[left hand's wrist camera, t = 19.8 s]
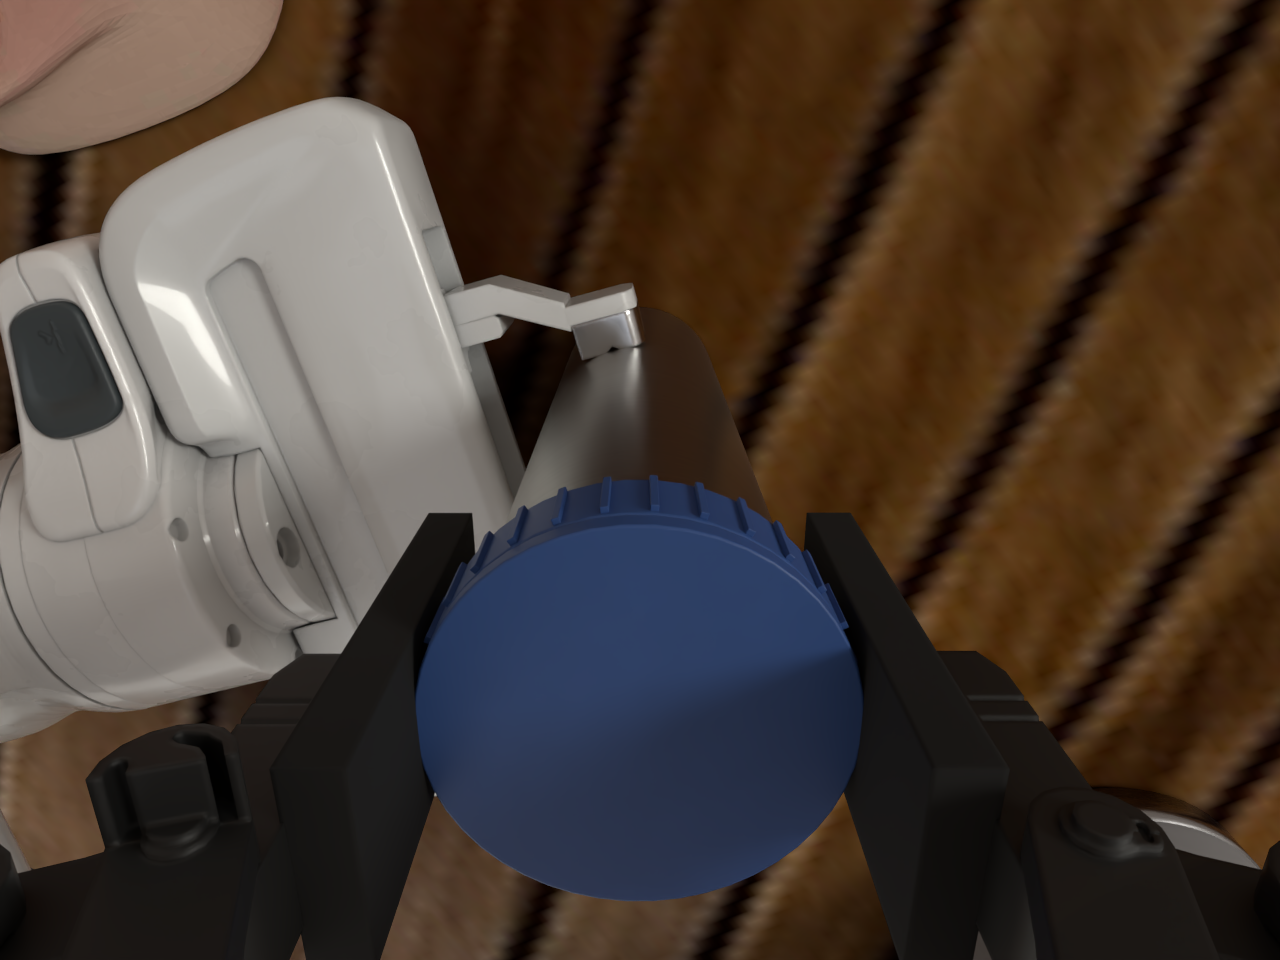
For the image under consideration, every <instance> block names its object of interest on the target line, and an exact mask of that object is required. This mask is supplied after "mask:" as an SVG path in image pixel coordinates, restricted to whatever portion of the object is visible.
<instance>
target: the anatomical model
mask: <svg viewBox="0 0 1280 960" xmlns="http://www.w3.org/2000/svg"><path fill="white" fill-rule="evenodd" d="M282 5H283V0H0V148H2V149H5V150H7V151H11V152H15V153H20V154H29V155H33V154H50V153H57V152H64V151H70V150H76V149H80V148H84V147H87V146H91V145H95V144H99V143H102V142H106V141H110V140H113V139H117V138H120V137H123V136H125V135H128V134H131V133H134V132H137V131H140V130H143V129H146V128H148V127H151V126H153V125H156V124H158V123H161V122H163V121H166V120H168V119H171V118H173V117H176V116H178V115H180V114H182V113H184V112H186V111H189V110H191V109H193V108H195V107H197V106H199V105H201V104H203V103H205V102H206V101H208V100H210V99H212V98H214V97H215V96H217V95H219V94H221V93H223V92H224V91H226V90H227V89H228V88H230V87H231V86H233V85H234V84H235V83H237V82H238V81H239V80H240V79H241V78H243V77H244V76H245V75H246V74H247V73H248V72H249V71H250V70H251V69H252V68H253V67H254V66H255V64H256V63H257V62H258V61H259V59H260V58H261V56H262V55H263V53H264V52H265V50H266V49H267V47H268V44H269V42H270V40H271V38H272V36H273V34H274V31H275V29H276V26H277V23H278V19H279V16H280V13H281V9H282Z"/></svg>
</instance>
